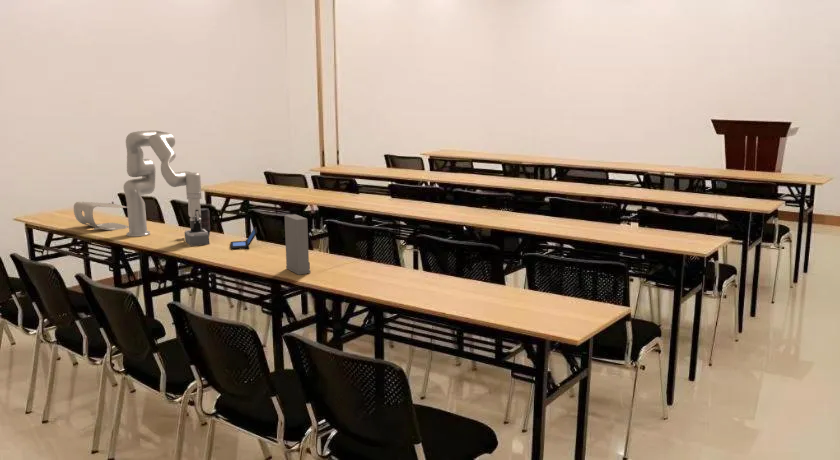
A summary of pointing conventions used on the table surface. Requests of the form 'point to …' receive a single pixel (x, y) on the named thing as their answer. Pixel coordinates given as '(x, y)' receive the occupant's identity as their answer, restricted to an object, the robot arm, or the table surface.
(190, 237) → the camera body block
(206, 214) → the camera lens
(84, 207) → the portable electronic device stand
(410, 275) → the table surface
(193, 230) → the ringed metal cylinder
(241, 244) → the game console
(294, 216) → the tall grey upright pillar
